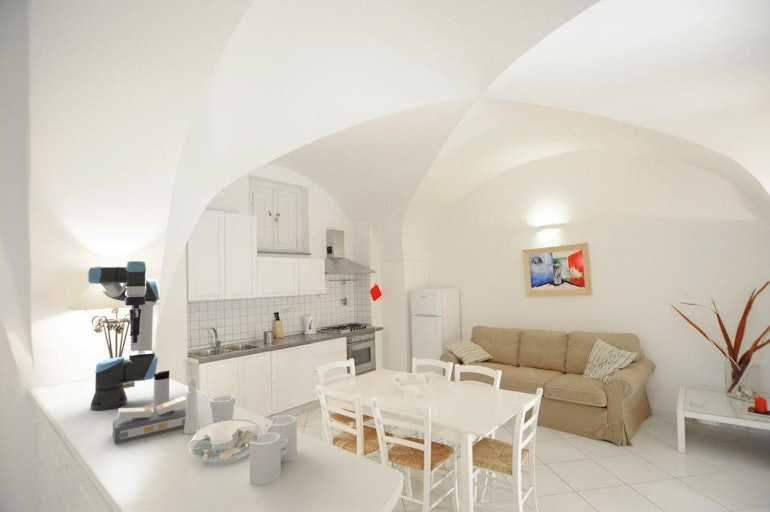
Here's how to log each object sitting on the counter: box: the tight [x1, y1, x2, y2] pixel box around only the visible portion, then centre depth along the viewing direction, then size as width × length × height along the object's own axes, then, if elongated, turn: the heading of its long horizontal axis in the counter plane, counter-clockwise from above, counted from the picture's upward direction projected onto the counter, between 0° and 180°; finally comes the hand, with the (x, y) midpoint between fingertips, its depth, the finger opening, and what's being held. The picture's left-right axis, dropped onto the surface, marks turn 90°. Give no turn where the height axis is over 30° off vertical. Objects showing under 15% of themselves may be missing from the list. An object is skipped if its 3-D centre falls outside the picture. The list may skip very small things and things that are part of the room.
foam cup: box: [209, 394, 236, 424], centre depth 157 cm, size 10×9×13 cm
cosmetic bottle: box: [183, 376, 200, 435], centre depth 157 cm, size 6×6×22 cm
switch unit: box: [112, 405, 186, 445], centre depth 158 cm, size 12×27×7 cm, turn 129°
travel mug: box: [152, 370, 170, 412], centre depth 178 cm, size 6×7×20 cm
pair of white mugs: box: [249, 414, 298, 486], centre depth 127 cm, size 25×10×12 cm, turn 177°
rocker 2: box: [156, 395, 187, 415], centre depth 163 cm, size 6×11×3 cm, turn 129°
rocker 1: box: [116, 406, 153, 419], centre depth 155 cm, size 6×11×3 cm, turn 129°
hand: (134, 350), depth 166 cm, fingers closed
